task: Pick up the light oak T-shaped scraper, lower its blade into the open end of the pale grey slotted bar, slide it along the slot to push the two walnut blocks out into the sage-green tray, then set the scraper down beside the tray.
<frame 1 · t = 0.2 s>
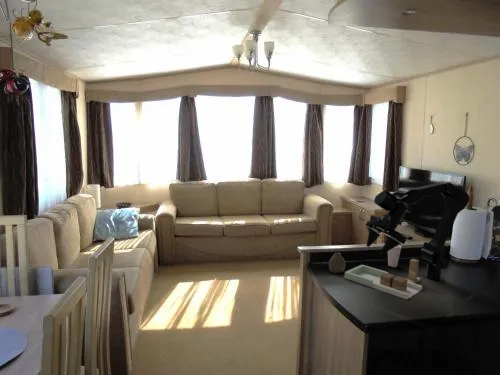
hand: (374, 250, 146), 15 cm above the countertop, tool tilted 30°, fingers open, 9 cm apart
block b: (387, 284, 146), point 1 cm above the countertop, touching slot tray
smoothie: (392, 266, 171), on the countertop
block a: (399, 288, 142), point 1 cm above the countertop, touching slot tray
scraper: (412, 283, 150), on the countertop
vase: (336, 272, 160), on the countertop
slot tray: (382, 285, 147), on the countertop
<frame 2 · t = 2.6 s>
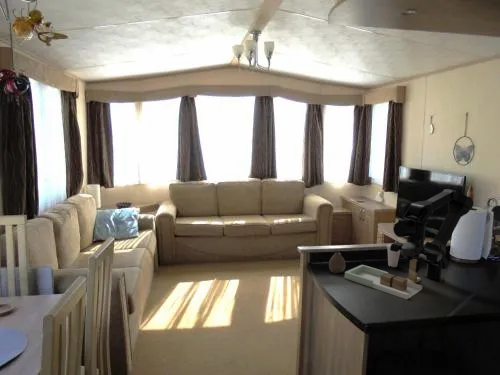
hand: (413, 271, 150), 5 cm above the countertop, tool pointing down, fingers closed on scraper, 2 cm apart
scraper: (412, 283, 150), on the countertop, touching gripper
everything else where it was.
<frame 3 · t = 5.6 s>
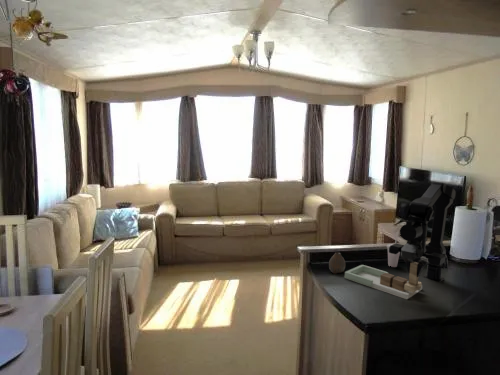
hand: (414, 275, 138), 8 cm above the countertop, tool pointing down, fingers closed on scraper, 2 cm apart
scraper: (412, 288, 138), point 3 cm above the countertop, touching gripper
everything else where it was.
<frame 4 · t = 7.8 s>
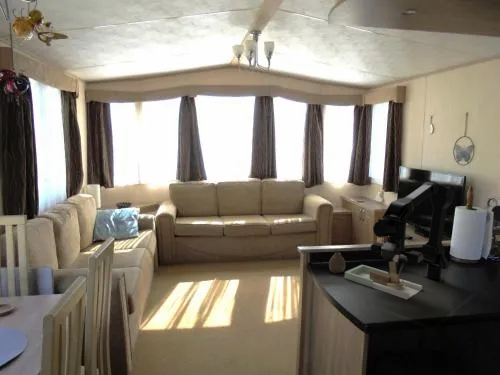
hand: (394, 273, 143), 7 cm above the countertop, tool pointing down, fingers closed on scraper, 3 cm apart
block b: (376, 281, 149), point 1 cm above the countertop, touching block a, slot tray
block a: (385, 284, 146), point 1 cm above the countertop, touching block b, scraper
scraper: (395, 286, 143), point 1 cm above the countertop, tilted 10°, touching block a, gripper, slot tray
everything else where it was.
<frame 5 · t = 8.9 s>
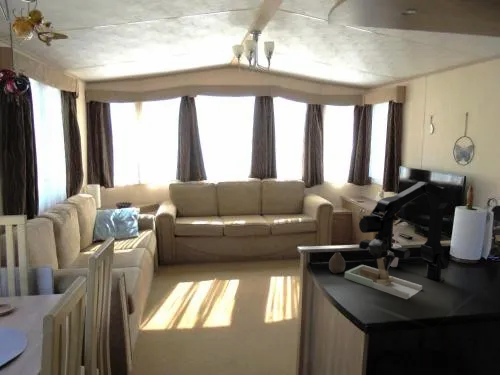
hand: (382, 269, 147), 7 cm above the countertop, tool pointing down, fingers closed on scraper, 3 cm apart
block b: (366, 278, 152), point 1 cm above the countertop, touching block a, slot tray
block a: (375, 281, 149), point 1 cm above the countertop, touching block b, scraper, slot tray
scraper: (385, 283, 146), point 1 cm above the countertop, tilted 15°, touching block a, gripper, slot tray
everything else where it was.
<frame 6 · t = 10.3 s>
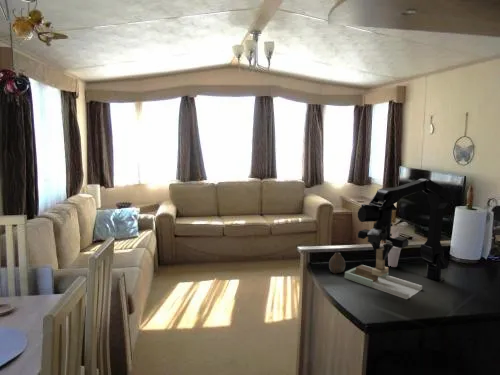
hand: (380, 258, 147), 11 cm above the countertop, tool pointing down, fingers closed on scraper, 3 cm apart
block b: (362, 276, 154), point 1 cm above the countertop, touching block a, slot tray
block a: (370, 279, 151), point 1 cm above the countertop, touching block b, slot tray
scraper: (380, 273, 147), point 5 cm above the countertop, touching gripper
everything else where it was.
when the fingers open (6 cm above the countertop, at t = 13.0 s): scraper stays where it is, on the countertop.
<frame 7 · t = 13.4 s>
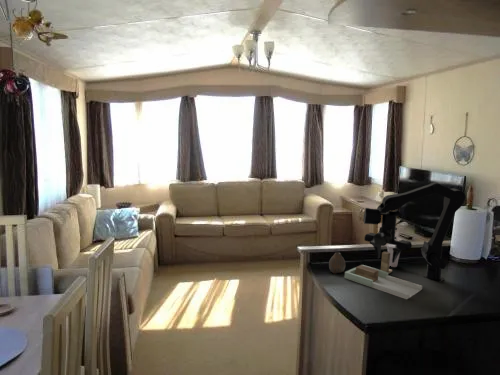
hand: (385, 260, 158), 6 cm above the countertop, tool pointing down, fingers open, 6 cm apart
block b: (362, 276, 154), point 1 cm above the countertop, touching slot tray
block a: (370, 279, 151), point 1 cm above the countertop, touching slot tray
scraper: (384, 274, 159), on the countertop
everything else where it was.
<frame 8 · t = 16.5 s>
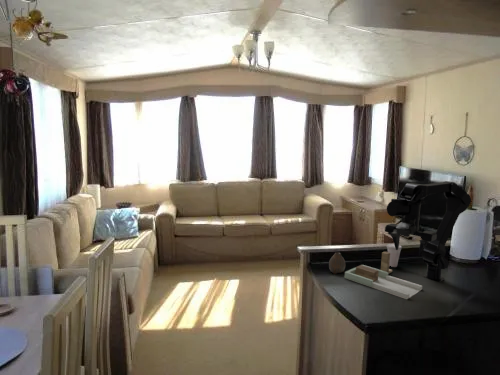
hand: (408, 252, 149), 13 cm above the countertop, tool pointing down, fingers open, 9 cm apart
nothing on the countertop moved.
at the end: block a inside the target area (2.6 cm from its centre), point 1.0 cm above the countertop; block b inside the target area (1.5 cm from its centre), point 1.0 cm above the countertop; scraper inside the target area (0.0 cm from its centre), on the countertop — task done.
